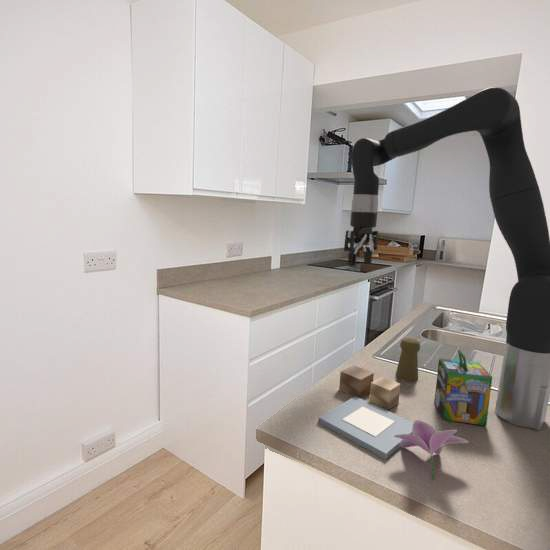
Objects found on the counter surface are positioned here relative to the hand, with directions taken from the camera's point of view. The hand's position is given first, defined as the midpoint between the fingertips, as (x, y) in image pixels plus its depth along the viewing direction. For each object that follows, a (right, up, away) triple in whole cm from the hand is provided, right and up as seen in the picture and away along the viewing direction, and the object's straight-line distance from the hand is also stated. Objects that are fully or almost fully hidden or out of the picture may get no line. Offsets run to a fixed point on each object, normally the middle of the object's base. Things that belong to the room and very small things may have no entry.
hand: (359, 265), depth 111 cm
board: (-6, -35, -32) cm, 48 cm away
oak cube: (+1, -34, -22) cm, 40 cm away
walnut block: (-5, -33, -16) cm, 37 cm away
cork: (+11, -32, -7) cm, 35 cm away
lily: (+2, -38, -43) cm, 58 cm away
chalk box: (+17, -35, -26) cm, 47 cm away
